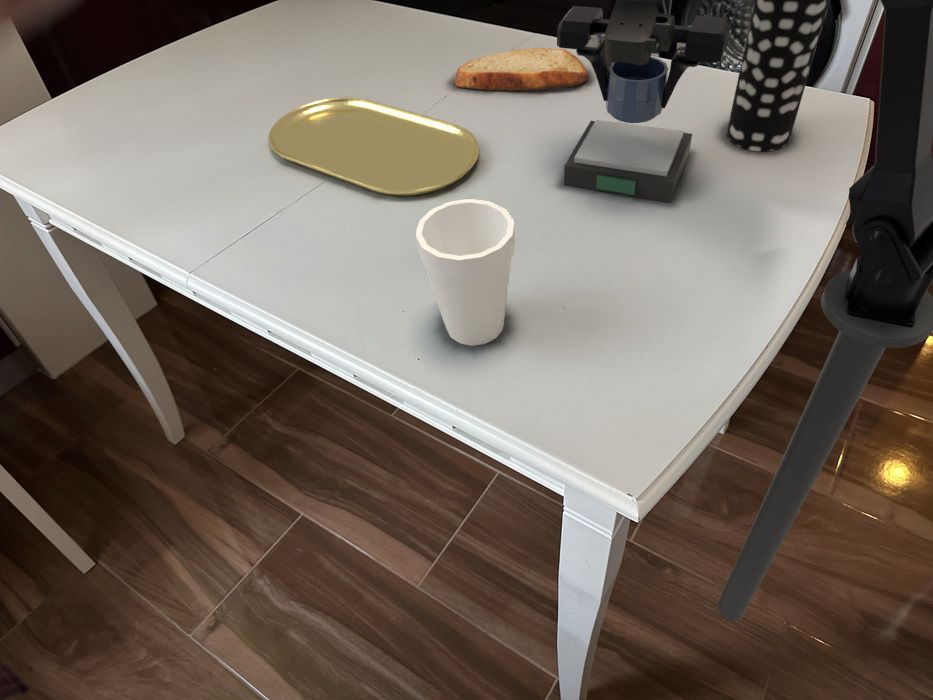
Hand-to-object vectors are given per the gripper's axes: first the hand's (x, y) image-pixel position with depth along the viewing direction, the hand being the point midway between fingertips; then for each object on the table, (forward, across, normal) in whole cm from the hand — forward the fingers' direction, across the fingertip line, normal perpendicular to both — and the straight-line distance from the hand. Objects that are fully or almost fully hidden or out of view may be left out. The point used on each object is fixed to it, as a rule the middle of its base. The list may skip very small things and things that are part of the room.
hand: (634, 103), depth 85 cm
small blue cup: (+1, 0, 0) cm, 1 cm away
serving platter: (+10, -37, -4) cm, 39 cm away
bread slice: (+10, -23, +22) cm, 33 cm away
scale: (+10, 0, +1) cm, 10 cm away
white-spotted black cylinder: (+10, +15, +14) cm, 23 cm away
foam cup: (+10, -8, -33) cm, 36 cm away
